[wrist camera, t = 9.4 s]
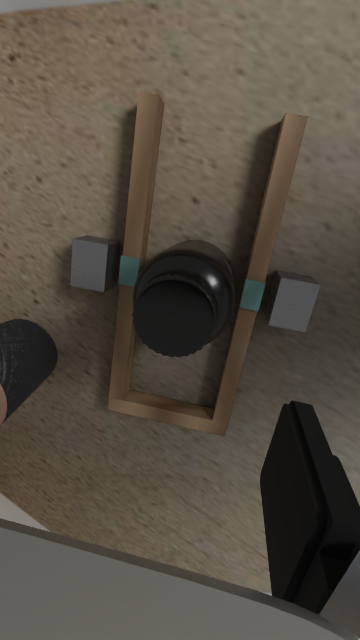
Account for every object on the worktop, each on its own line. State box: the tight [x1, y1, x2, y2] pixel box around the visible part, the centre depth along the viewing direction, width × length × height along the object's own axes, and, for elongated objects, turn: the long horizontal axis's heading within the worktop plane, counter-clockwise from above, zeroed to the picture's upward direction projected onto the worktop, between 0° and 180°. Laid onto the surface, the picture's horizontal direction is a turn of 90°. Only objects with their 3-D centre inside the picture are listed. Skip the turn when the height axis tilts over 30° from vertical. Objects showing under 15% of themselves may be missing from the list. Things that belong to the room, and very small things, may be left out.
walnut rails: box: [108, 92, 308, 436], centre depth 28 cm, size 12×28×2 cm, turn 171°
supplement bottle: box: [132, 240, 235, 357], centre depth 23 cm, size 7×7×12 cm
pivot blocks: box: [71, 236, 321, 332], centre depth 27 cm, size 20×4×3 cm, turn 81°
